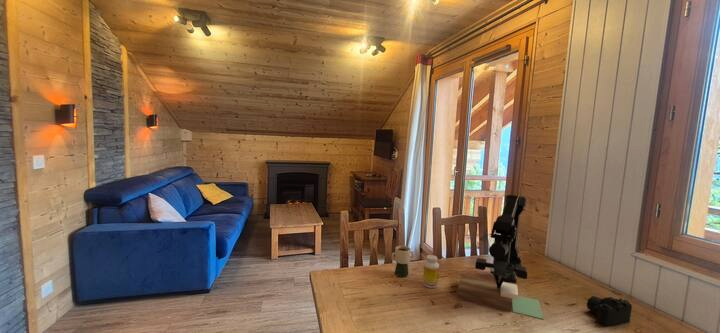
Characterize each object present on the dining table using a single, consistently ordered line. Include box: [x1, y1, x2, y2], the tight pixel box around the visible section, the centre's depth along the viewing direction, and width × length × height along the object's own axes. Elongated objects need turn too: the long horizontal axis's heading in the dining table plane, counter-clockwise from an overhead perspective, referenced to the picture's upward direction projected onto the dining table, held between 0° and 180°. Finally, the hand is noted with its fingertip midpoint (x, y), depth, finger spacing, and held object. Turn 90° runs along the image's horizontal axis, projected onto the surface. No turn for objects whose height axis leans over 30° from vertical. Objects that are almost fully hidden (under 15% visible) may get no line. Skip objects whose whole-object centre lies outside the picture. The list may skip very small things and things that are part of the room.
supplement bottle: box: [422, 254, 440, 289], centre depth 132 cm, size 7×7×13 cm
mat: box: [512, 295, 544, 320], centre depth 118 cm, size 14×10×1 cm
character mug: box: [391, 245, 414, 278], centre depth 140 cm, size 11×7×13 cm, turn 104°
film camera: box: [586, 295, 633, 328], centre depth 112 cm, size 15×10×9 cm, turn 106°
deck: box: [456, 274, 513, 312], centre depth 124 cm, size 14×20×4 cm
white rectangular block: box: [501, 281, 519, 300], centre depth 120 cm, size 9×6×2 cm, turn 155°
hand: (498, 288), depth 122 cm, fingers closed
